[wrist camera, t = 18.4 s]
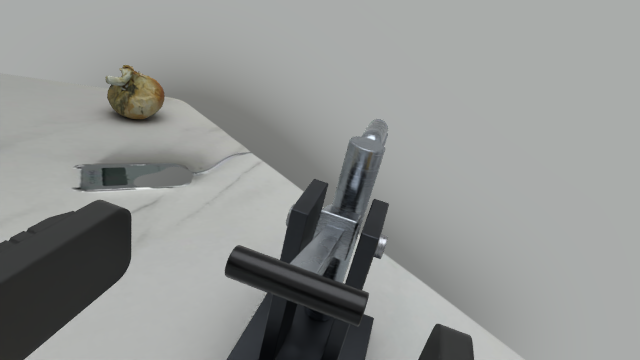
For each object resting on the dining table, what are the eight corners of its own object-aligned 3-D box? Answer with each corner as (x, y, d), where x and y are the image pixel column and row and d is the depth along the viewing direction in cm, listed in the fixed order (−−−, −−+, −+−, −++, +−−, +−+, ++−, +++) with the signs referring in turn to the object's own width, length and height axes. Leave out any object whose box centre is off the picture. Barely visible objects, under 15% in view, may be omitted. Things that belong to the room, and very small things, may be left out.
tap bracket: (337, 475, 23) (412, 300, 17) (199, 413, 24) (223, 231, 18) (369, 328, 34) (423, 188, 28) (272, 291, 35) (303, 150, 29)
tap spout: (328, 325, 31) (382, 154, 25) (300, 315, 32) (346, 143, 25) (350, 265, 39) (396, 121, 32) (327, 257, 39) (367, 113, 32)
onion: (160, 128, 61) (163, 76, 57) (102, 121, 58) (100, 67, 55) (165, 111, 67) (167, 64, 63) (112, 105, 64) (111, 55, 61)
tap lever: (351, 349, 13) (373, 283, 13) (216, 296, 14) (234, 233, 14) (371, 257, 25) (383, 222, 25) (297, 231, 26) (308, 196, 25)
